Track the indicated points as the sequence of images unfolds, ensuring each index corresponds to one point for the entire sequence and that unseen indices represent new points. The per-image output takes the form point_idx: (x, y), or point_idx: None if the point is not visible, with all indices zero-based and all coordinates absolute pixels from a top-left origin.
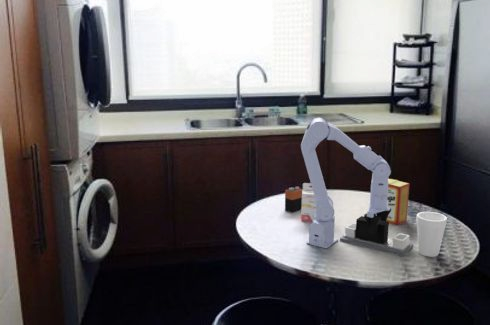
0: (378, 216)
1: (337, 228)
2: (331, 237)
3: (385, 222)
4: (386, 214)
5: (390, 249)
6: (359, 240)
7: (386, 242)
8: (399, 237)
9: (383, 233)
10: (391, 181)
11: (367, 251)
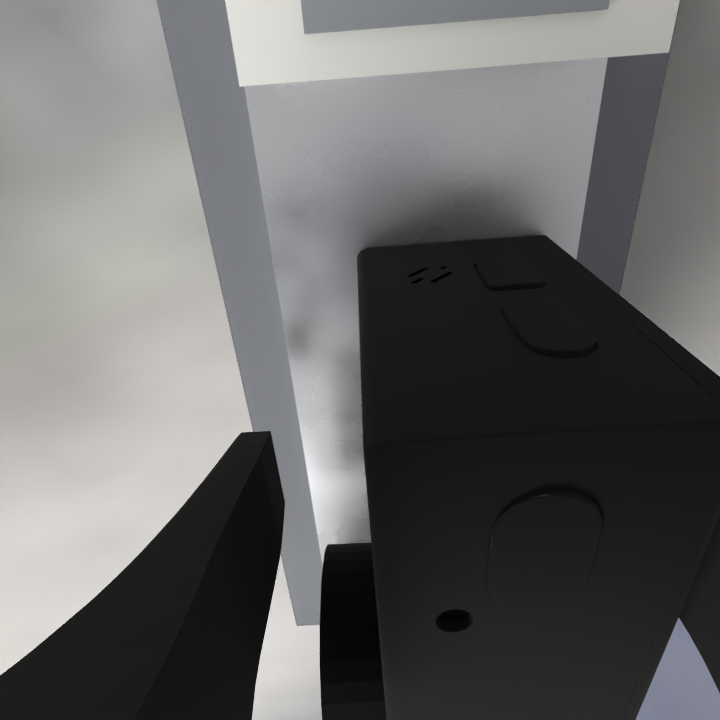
0: (239, 711)
1: (306, 680)
2: (697, 661)
3: (489, 489)
4: (159, 718)
5: (629, 67)
6: None
7: (453, 225)
8: None
9: (629, 314)
10: None
11: (698, 322)
